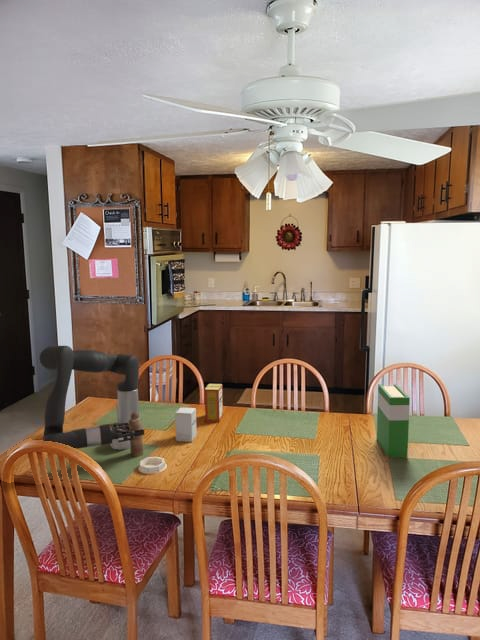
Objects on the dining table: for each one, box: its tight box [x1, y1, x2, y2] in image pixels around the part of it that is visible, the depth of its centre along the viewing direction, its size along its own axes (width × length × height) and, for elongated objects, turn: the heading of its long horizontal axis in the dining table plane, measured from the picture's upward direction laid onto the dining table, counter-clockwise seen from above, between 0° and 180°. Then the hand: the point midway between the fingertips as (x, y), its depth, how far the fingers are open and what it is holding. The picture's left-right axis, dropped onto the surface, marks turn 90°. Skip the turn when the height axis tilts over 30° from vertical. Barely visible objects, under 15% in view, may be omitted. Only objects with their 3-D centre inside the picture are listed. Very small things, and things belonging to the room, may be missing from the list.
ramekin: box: [109, 439, 131, 451], centre depth 208 cm, size 11×11×5 cm
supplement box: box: [174, 407, 198, 443], centre depth 214 cm, size 7×7×13 cm
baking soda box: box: [204, 383, 224, 423], centre depth 237 cm, size 10×6×16 cm
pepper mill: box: [129, 412, 144, 458], centre depth 196 cm, size 5×5×18 cm
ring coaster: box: [138, 456, 168, 475], centre depth 185 cm, size 10×10×3 cm
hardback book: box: [376, 383, 411, 458], centre depth 199 cm, size 18×7×24 cm, turn 179°
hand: (142, 428), depth 197 cm, fingers open, 6 cm apart
